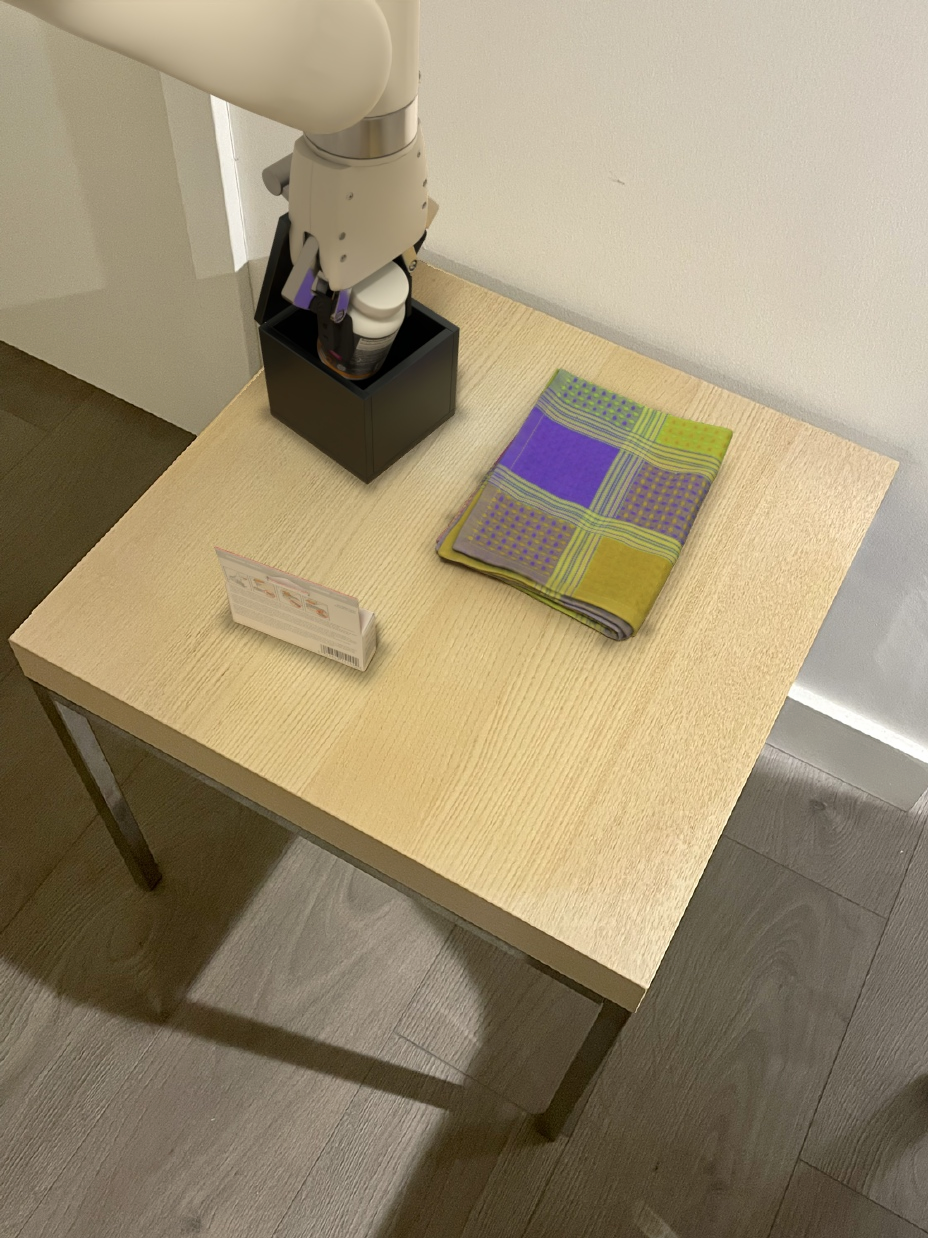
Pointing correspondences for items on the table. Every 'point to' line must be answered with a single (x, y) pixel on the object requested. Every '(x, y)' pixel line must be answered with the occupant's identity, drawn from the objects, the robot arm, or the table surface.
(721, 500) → the table surface
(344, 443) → the black open box
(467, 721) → the table surface
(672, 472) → the dish towel
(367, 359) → the pill bottle
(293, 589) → the ink cartridge box
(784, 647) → the table surface
